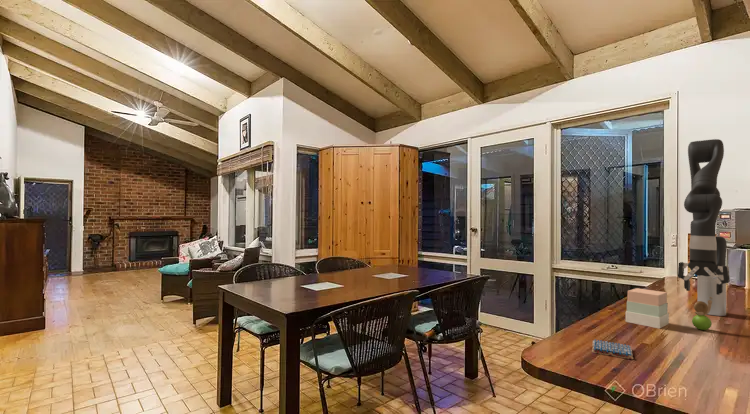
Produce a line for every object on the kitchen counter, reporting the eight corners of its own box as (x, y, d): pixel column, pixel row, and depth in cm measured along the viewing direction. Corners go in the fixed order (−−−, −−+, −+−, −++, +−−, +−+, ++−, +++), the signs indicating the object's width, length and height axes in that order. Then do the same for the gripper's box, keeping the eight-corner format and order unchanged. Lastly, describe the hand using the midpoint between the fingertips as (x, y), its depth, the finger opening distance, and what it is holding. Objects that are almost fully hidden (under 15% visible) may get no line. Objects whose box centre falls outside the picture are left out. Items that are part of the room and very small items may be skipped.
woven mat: (631, 350, 116) (631, 344, 116) (633, 362, 107) (634, 354, 107) (592, 344, 122) (592, 337, 122) (591, 354, 112) (591, 347, 113)
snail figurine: (718, 332, 136) (718, 298, 136) (700, 331, 136) (700, 298, 136) (705, 327, 141) (705, 295, 141) (688, 327, 141) (688, 295, 141)
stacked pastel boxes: (635, 317, 154) (635, 287, 155) (668, 323, 146) (668, 292, 146) (625, 321, 147) (625, 290, 148) (659, 328, 139) (659, 295, 139)
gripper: (731, 249, 136) (731, 294, 135) (681, 246, 147) (681, 288, 146) (726, 250, 131) (726, 297, 131) (675, 247, 142) (675, 290, 142)
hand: (702, 292), depth 139 cm, fingers open, 8 cm apart
